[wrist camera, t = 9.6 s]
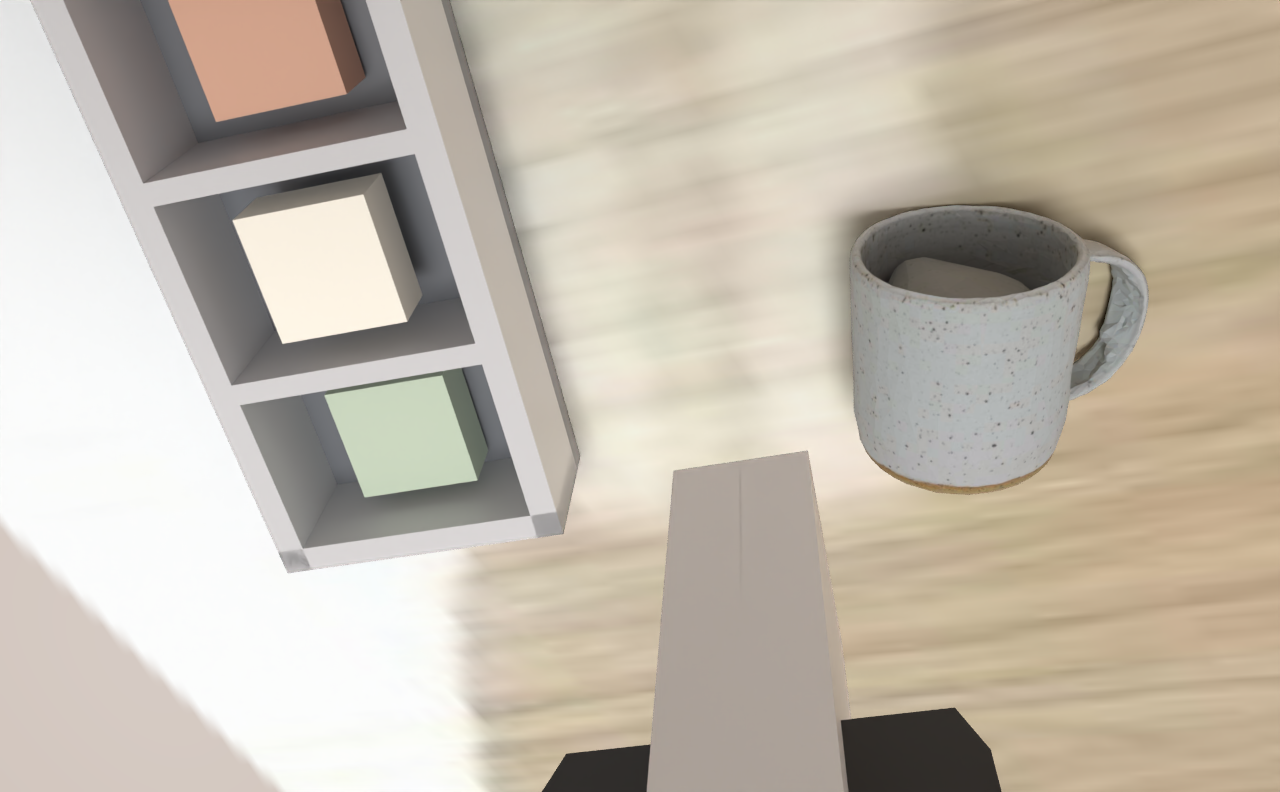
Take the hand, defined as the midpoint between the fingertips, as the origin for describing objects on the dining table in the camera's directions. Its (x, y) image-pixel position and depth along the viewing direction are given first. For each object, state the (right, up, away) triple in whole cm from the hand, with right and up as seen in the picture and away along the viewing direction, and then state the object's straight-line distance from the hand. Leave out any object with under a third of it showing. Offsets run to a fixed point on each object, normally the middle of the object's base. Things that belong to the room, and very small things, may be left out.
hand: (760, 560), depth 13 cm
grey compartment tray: (-12, +8, +30) cm, 33 cm away
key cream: (-12, +7, +27) cm, 31 cm away
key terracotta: (-13, +14, +25) cm, 32 cm away
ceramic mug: (+11, +6, +30) cm, 33 cm away
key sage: (-10, +1, +32) cm, 34 cm away
